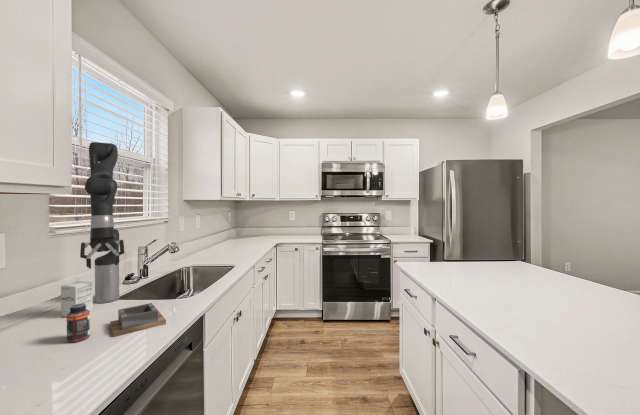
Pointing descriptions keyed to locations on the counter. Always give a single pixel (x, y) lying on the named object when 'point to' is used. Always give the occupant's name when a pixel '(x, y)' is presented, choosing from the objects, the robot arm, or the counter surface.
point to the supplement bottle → (78, 323)
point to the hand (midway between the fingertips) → (103, 266)
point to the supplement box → (76, 296)
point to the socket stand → (136, 319)
